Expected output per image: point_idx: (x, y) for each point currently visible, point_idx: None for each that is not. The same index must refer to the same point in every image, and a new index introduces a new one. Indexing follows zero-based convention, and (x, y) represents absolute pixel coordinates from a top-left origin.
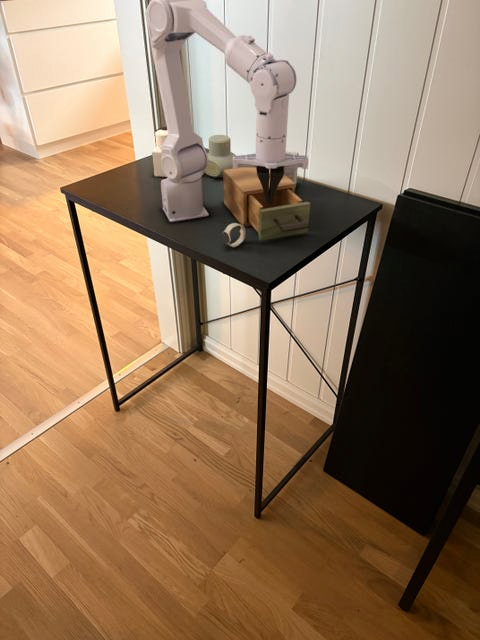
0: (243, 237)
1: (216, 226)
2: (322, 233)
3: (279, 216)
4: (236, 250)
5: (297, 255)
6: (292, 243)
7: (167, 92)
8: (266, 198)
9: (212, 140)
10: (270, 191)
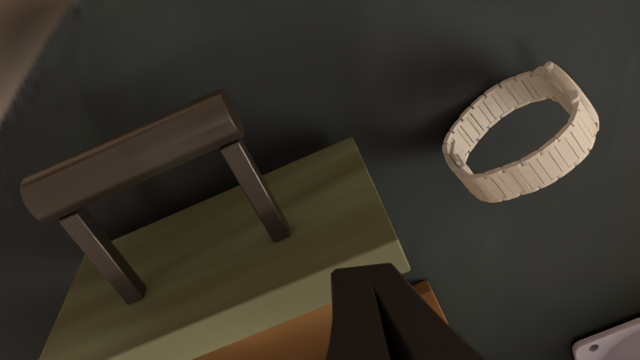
0: (450, 149)
1: (549, 271)
2: (10, 269)
3: (253, 260)
4: (482, 55)
5: (123, 21)
6: None
7: None
8: (405, 292)
9: None
10: (387, 353)
